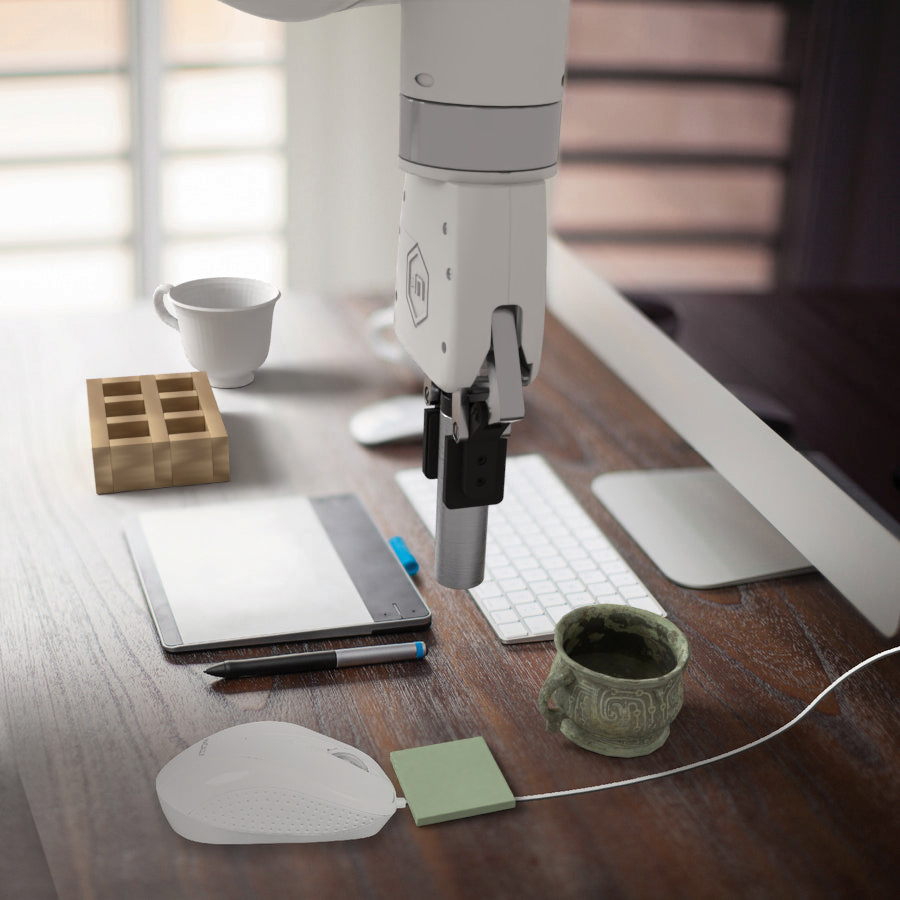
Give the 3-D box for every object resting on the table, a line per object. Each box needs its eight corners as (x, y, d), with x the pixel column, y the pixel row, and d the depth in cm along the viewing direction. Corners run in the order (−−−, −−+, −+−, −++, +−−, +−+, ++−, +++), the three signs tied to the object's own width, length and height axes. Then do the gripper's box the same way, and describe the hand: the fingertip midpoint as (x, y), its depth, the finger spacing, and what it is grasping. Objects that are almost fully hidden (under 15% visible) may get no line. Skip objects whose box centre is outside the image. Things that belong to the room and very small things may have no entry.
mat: (417, 827, 65) (417, 819, 65) (389, 759, 70) (389, 751, 70) (515, 807, 67) (516, 799, 66) (481, 743, 72) (482, 735, 72)
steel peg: (442, 593, 61) (450, 404, 57) (427, 567, 64) (434, 384, 59) (491, 586, 62) (503, 400, 58) (474, 561, 65) (484, 380, 60)
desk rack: (96, 494, 100) (91, 447, 98) (90, 420, 115) (86, 378, 113) (230, 481, 104) (228, 436, 102) (207, 411, 118) (205, 370, 116)
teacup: (188, 350, 135) (183, 268, 130) (301, 370, 130) (300, 285, 126) (128, 383, 124) (120, 295, 120) (248, 406, 120) (245, 315, 116)
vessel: (642, 661, 81) (652, 585, 78) (727, 733, 74) (741, 652, 71) (498, 707, 75) (504, 627, 73) (575, 790, 68) (584, 704, 66)
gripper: (358, 111, 59) (357, 435, 67) (456, 173, 45) (440, 575, 53) (494, 110, 61) (478, 424, 69) (628, 169, 47) (588, 555, 55)
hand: (461, 486), depth 61 cm, fingers closed on steel peg, 2 cm apart
